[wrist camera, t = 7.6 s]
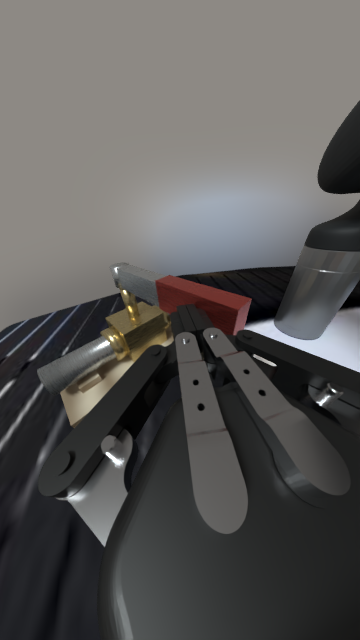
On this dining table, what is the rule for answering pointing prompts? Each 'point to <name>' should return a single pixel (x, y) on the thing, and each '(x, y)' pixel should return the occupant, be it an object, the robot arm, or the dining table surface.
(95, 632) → the dining table surface
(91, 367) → the valve line
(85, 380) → the mounting board
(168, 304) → the valve lever
